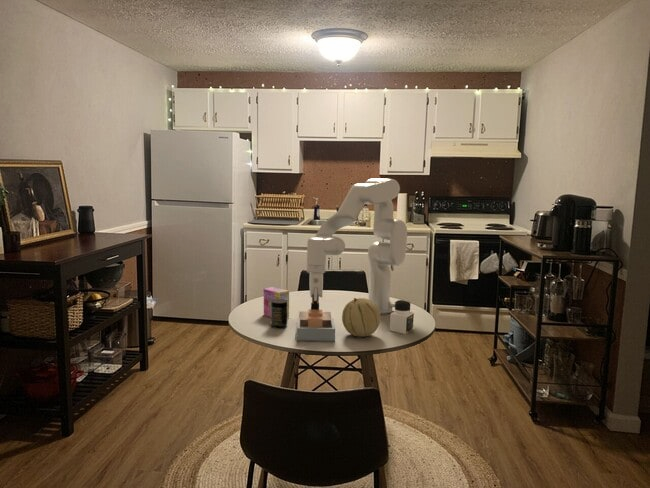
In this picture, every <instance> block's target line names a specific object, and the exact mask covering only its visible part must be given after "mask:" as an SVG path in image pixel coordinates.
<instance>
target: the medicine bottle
mask: <svg viewBox="0 0 650 488" xmlns="http://www.w3.org/2000/svg"><path fill="white" fill-rule="evenodd" d="M414 315H415V312H413V311H411V302H410V301H409V300H406V299H400V300H399V299H398V300H396V301H395V307H394V311H392V312H391V313H390V315H389V316H390V319H389V331H390V332H394V333H399V334H404V335H406V334H408V333H410V332H411V331H413V330H414V317H415V316H414Z"/></svg>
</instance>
